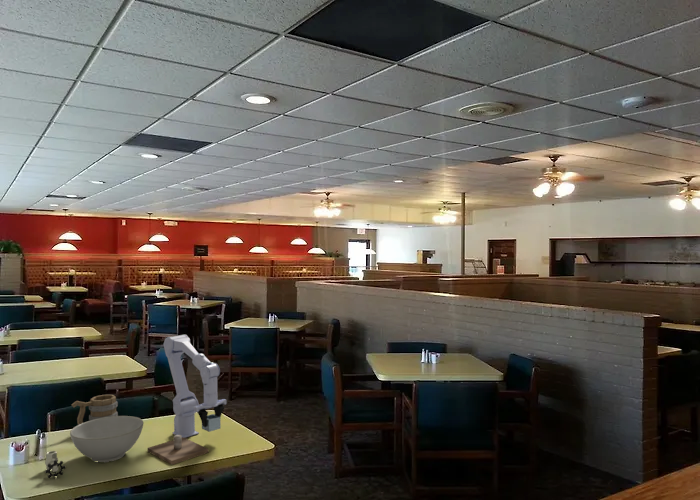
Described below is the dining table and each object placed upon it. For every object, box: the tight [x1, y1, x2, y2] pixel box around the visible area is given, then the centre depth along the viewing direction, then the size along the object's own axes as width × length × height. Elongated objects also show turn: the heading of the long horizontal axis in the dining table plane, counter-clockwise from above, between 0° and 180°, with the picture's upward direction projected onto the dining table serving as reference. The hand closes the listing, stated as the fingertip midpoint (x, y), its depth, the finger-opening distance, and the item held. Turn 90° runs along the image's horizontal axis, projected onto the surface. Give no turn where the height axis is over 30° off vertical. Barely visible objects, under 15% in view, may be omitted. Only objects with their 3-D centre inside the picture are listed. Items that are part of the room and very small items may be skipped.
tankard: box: [71, 394, 119, 425], centre depth 246 cm, size 20×13×15 cm, turn 133°
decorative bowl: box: [69, 415, 144, 463], centre depth 214 cm, size 27×27×12 cm
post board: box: [147, 434, 209, 465], centre depth 217 cm, size 20×16×6 cm
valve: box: [44, 450, 67, 479], centre depth 199 cm, size 7×7×12 cm
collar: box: [201, 413, 222, 433], centre depth 228 cm, size 6×6×5 cm
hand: (210, 424), depth 228 cm, fingers closed on collar, 6 cm apart
